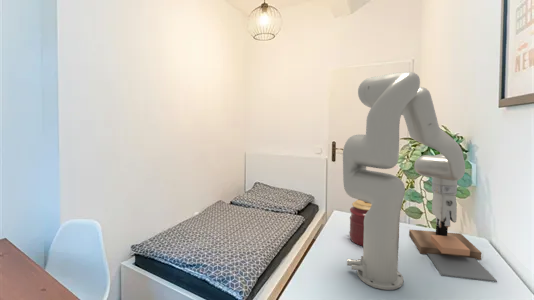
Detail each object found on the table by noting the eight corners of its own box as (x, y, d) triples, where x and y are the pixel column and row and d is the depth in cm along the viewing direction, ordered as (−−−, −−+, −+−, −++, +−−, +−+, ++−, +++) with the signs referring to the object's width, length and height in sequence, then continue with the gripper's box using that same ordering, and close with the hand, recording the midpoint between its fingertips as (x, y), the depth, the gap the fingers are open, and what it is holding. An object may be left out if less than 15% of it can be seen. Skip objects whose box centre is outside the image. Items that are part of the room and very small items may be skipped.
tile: (441, 253, 86) (442, 247, 86) (430, 239, 96) (431, 234, 96) (469, 255, 84) (470, 249, 84) (455, 241, 94) (455, 236, 94)
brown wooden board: (420, 253, 91) (420, 246, 91) (409, 235, 106) (409, 229, 105) (481, 259, 87) (481, 252, 86) (460, 239, 101) (460, 233, 101)
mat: (441, 275, 78) (441, 274, 78) (427, 254, 90) (427, 253, 90) (497, 282, 75) (497, 280, 75) (474, 259, 87) (474, 258, 87)
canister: (382, 251, 93) (383, 203, 91) (345, 243, 100) (346, 198, 98) (386, 237, 104) (388, 194, 102) (353, 230, 111) (354, 190, 109)
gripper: (466, 194, 86) (462, 247, 88) (447, 184, 101) (444, 229, 103) (440, 193, 88) (437, 245, 90) (425, 183, 103) (423, 228, 105)
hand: (441, 236), depth 96 cm, fingers closed
